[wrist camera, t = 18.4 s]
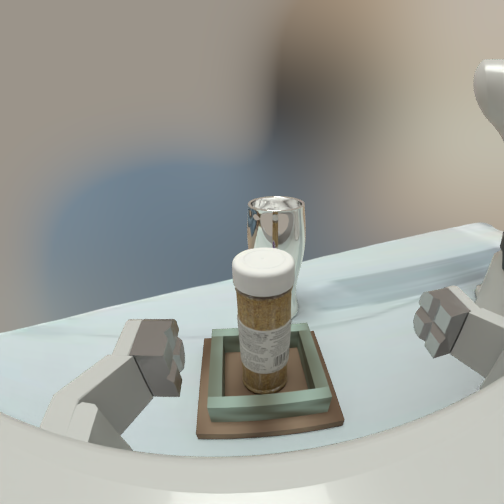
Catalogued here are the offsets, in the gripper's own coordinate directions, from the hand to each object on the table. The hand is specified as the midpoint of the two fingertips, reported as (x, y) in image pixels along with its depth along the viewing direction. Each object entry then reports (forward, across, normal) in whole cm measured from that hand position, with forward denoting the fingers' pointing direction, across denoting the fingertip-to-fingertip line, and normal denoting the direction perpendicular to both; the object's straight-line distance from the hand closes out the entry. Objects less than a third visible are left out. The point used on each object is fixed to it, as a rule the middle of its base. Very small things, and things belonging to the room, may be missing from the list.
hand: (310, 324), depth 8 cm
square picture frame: (+12, +1, +18) cm, 21 cm away
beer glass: (+24, -2, +18) cm, 31 cm away
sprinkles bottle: (+11, +1, +17) cm, 21 cm away
